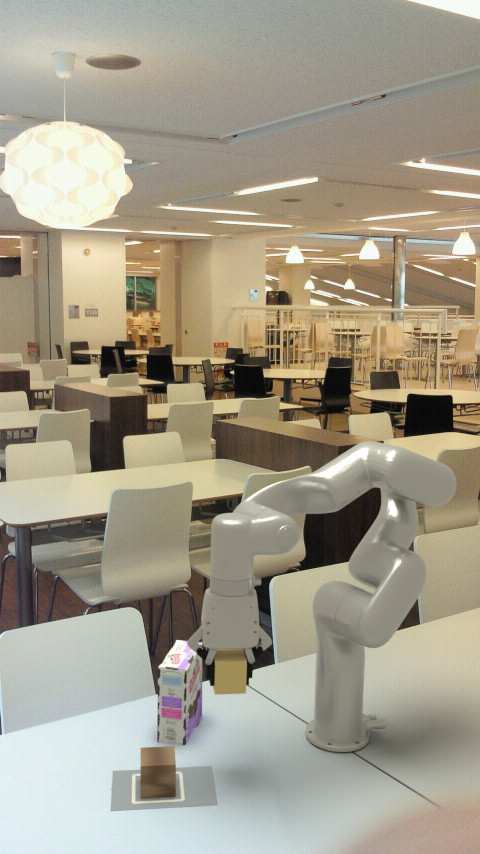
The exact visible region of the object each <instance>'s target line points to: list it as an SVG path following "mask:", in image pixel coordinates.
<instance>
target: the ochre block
mask: <svg viewBox="0 0 480 854" xmlns="http://www.w3.org/2000/svg"><path fill="white" fill-rule="evenodd" d="M245 655H246V653H245V650H244V649H217V651H216V653H215V656H214V659H213V660H214V664H215V680H214V685H213V686H212V687H213V693H214V695H241V694H242V695H243V694H244V695H245V694H247V685H246V676H247V660H246V657H245Z"/></svg>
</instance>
